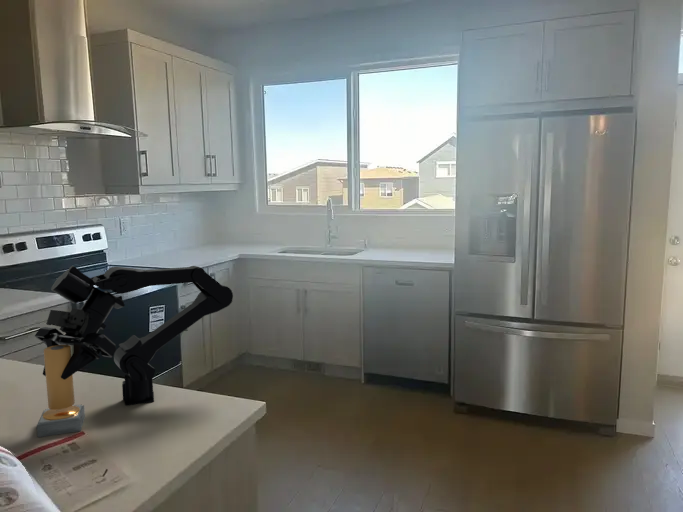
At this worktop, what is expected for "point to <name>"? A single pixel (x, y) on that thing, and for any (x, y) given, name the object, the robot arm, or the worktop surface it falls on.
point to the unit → (61, 421)
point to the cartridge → (58, 377)
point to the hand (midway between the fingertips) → (53, 377)
